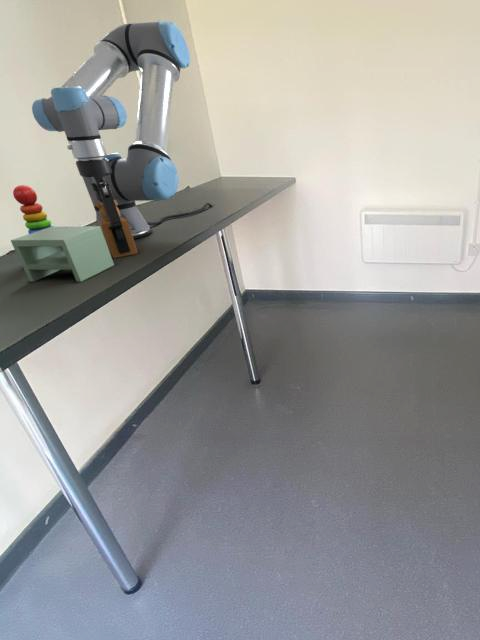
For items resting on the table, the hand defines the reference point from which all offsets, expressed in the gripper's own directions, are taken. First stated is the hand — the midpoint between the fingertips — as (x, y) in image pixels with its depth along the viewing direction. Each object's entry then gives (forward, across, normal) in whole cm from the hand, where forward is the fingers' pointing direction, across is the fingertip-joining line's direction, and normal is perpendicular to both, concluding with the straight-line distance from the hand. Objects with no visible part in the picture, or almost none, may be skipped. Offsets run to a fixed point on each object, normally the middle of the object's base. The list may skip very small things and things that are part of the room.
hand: (123, 249), depth 136 cm
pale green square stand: (+1, +10, -14) cm, 17 cm away
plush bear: (+1, 0, 0) cm, 1 cm away
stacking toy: (+1, -13, -17) cm, 21 cm away
